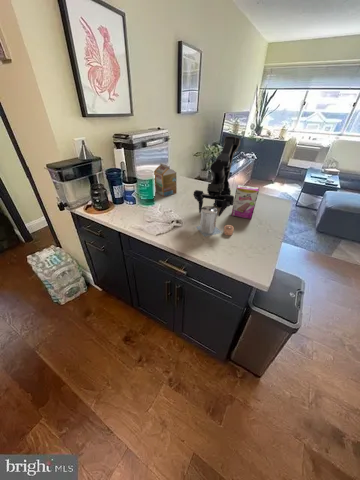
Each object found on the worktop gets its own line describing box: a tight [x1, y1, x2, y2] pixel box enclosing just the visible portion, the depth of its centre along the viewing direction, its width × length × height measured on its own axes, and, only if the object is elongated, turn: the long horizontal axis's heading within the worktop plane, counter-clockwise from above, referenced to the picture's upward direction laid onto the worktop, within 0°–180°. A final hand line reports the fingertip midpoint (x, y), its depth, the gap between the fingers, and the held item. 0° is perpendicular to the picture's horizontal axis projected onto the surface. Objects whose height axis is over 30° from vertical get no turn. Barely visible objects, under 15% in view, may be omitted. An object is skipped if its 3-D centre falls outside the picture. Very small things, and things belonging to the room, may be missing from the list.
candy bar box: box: [231, 184, 260, 220], centre depth 105 cm, size 11×5×16 cm, turn 71°
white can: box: [199, 205, 218, 236], centre depth 94 cm, size 7×7×12 cm
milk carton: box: [153, 162, 178, 197], centre depth 131 cm, size 11×11×19 cm
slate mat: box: [195, 225, 223, 238], centre depth 98 cm, size 10×10×1 cm
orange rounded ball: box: [223, 224, 235, 236], centre depth 95 cm, size 4×4×4 cm
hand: (209, 214), depth 92 cm, fingers open, 9 cm apart
